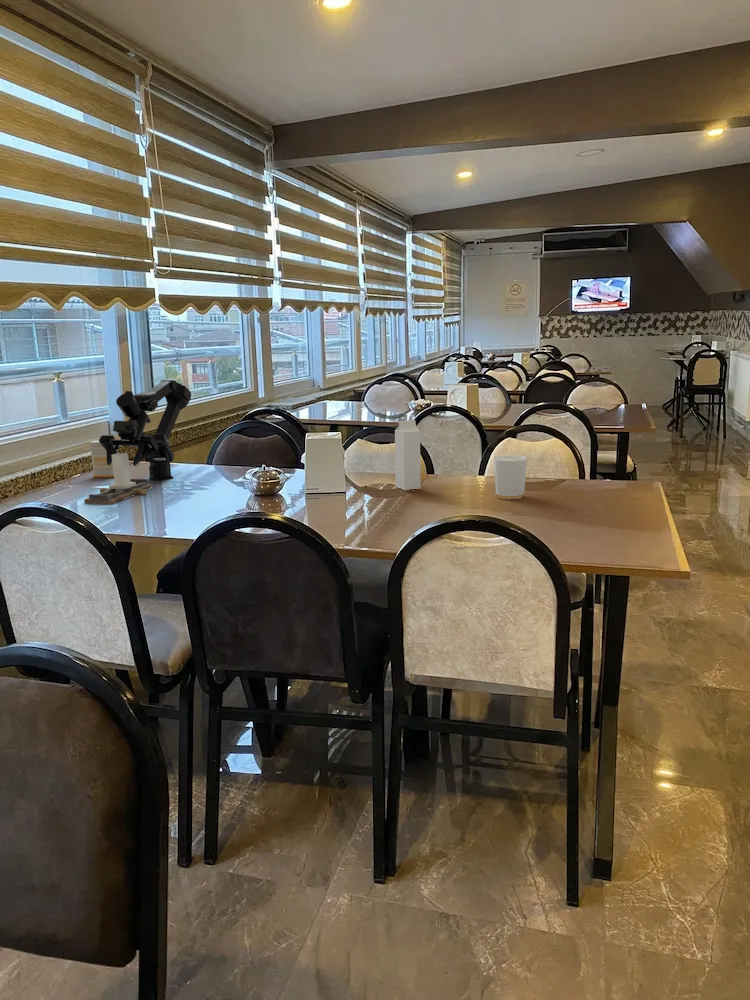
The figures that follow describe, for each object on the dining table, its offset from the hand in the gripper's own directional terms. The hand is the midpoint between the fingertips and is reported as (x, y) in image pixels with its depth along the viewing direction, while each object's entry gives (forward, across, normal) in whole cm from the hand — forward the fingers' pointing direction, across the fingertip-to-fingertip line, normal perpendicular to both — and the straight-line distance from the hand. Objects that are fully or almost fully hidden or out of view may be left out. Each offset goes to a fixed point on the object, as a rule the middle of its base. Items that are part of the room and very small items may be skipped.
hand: (120, 464), depth 244 cm
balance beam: (+8, 0, +5) cm, 10 cm away
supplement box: (-12, -22, +26) cm, 36 cm away
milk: (-6, +90, +20) cm, 93 cm away
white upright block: (+6, 0, +6) cm, 8 cm away
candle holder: (-1, +123, +15) cm, 124 cm away
